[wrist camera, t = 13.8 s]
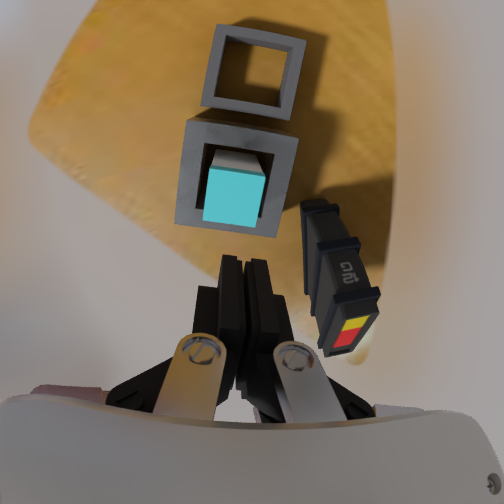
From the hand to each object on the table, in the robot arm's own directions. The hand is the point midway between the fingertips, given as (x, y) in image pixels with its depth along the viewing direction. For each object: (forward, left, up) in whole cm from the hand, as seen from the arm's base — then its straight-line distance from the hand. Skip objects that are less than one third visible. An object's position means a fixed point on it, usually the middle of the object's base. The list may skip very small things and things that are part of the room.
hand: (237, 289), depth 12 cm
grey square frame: (-10, 0, -21) cm, 23 cm away
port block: (0, 0, -21) cm, 21 cm away
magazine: (+8, +11, -21) cm, 25 cm away
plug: (0, 0, -21) cm, 21 cm away
